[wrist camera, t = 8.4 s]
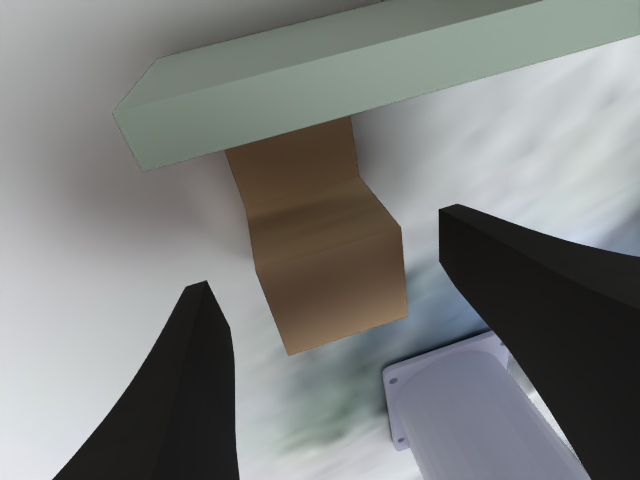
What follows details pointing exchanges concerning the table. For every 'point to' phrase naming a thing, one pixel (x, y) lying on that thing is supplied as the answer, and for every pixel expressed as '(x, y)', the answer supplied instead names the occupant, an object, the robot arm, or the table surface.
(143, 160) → the door
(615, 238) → the table surface
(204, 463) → the robot arm
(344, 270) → the wooden step block
